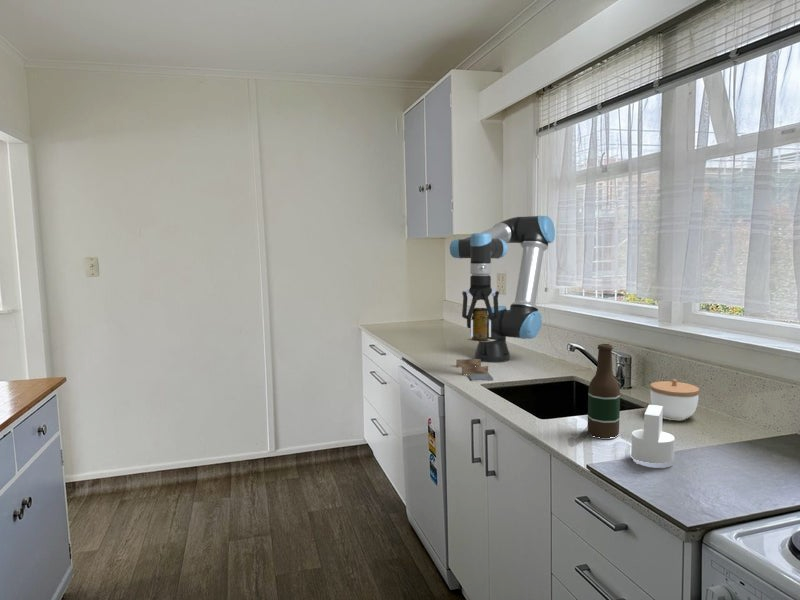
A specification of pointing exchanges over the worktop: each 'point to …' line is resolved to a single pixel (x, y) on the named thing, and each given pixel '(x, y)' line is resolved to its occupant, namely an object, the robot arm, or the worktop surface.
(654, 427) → the base with upright slab
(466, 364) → the rack
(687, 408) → the lidded bowl
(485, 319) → the condiment
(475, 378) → the coaster
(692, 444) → the worktop surface
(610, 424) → the beer bottle
